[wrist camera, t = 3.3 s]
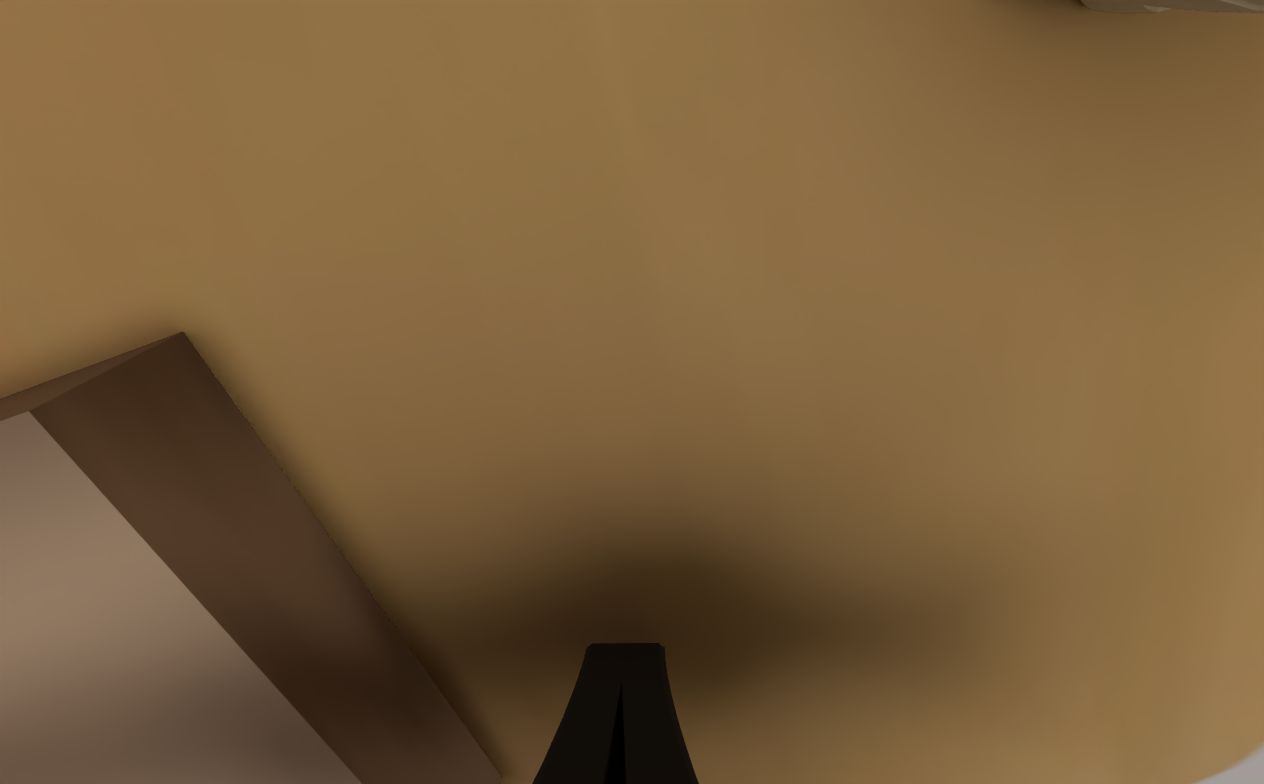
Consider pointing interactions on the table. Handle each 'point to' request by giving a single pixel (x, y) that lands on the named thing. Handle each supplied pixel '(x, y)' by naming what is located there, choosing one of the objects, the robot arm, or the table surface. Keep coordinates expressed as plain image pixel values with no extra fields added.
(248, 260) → the table surface
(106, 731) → the brown rectangular block
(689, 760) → the robot arm
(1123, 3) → the handle
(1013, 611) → the table surface
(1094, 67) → the table surface
